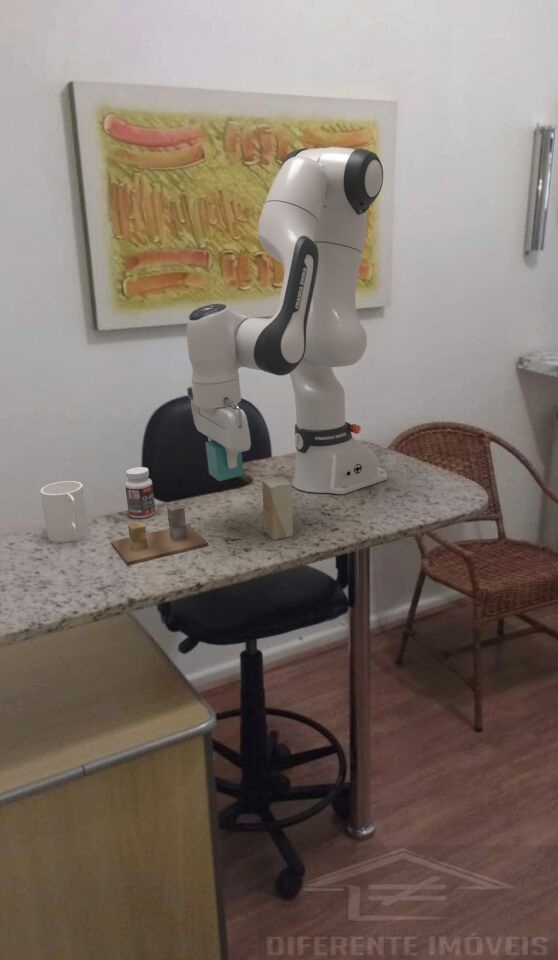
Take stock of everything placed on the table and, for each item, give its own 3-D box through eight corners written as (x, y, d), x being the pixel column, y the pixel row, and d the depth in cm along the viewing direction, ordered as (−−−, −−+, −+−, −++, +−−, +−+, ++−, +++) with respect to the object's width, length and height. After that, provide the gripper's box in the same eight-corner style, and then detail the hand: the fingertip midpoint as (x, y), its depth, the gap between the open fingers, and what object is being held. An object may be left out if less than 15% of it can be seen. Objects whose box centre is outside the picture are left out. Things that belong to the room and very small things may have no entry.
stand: (188, 526, 153) (185, 494, 151) (208, 545, 144) (205, 511, 141) (111, 544, 146) (107, 511, 144) (127, 565, 137) (122, 530, 135)
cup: (60, 552, 144) (52, 503, 141) (43, 532, 154) (35, 486, 151) (101, 541, 148) (94, 493, 145) (81, 523, 158) (75, 478, 155)
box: (263, 531, 149) (260, 479, 145) (283, 527, 150) (281, 475, 147) (274, 540, 144) (271, 487, 141) (294, 536, 146) (292, 482, 142)
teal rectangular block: (233, 467, 150) (229, 436, 148) (243, 475, 145) (240, 443, 143) (209, 473, 148) (205, 442, 146) (219, 481, 143) (215, 448, 141)
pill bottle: (149, 519, 158) (144, 475, 155) (124, 518, 159) (119, 474, 156) (159, 509, 163) (154, 466, 160) (134, 508, 164) (129, 465, 161)
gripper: (255, 401, 133) (262, 473, 138) (212, 381, 151) (220, 446, 156) (222, 407, 131) (231, 481, 136) (183, 387, 148) (192, 453, 153)
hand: (225, 462), depth 146 cm, fingers closed on teal rectangular block, 5 cm apart
